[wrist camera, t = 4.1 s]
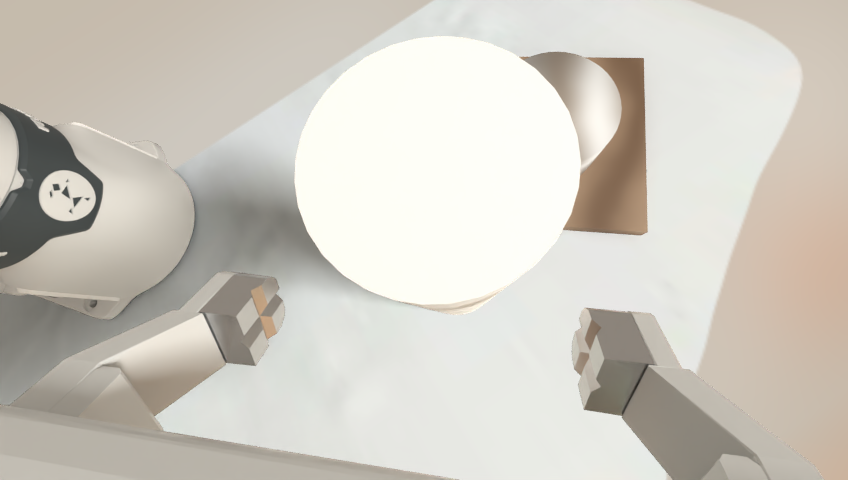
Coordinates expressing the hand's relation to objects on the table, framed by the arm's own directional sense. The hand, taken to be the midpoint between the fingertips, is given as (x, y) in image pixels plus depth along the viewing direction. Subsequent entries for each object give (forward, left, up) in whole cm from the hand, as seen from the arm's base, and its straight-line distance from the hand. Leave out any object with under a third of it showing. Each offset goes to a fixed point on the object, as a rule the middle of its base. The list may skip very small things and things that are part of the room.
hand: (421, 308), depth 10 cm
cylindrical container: (0, +4, -24) cm, 24 cm away
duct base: (+7, +17, -24) cm, 30 cm away
